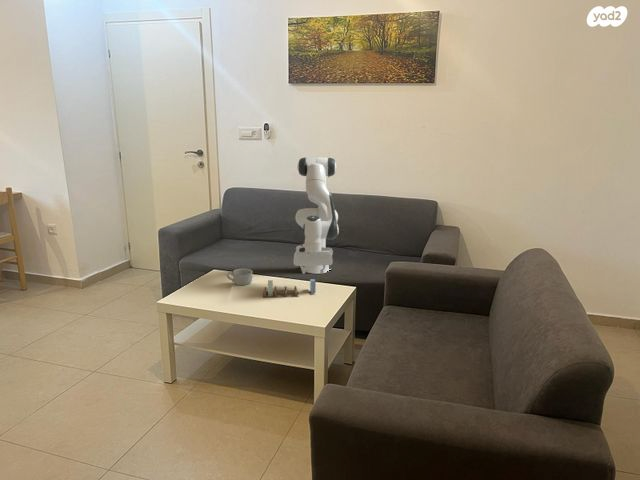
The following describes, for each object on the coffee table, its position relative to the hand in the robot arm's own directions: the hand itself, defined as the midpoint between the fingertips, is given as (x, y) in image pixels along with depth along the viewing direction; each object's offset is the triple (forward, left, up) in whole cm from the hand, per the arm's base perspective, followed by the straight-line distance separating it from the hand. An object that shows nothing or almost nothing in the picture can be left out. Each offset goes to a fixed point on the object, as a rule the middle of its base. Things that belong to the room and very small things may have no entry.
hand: (312, 273), depth 244 cm
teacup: (-17, -39, -11) cm, 44 cm away
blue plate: (0, 0, -11) cm, 11 cm away
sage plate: (+4, -22, -10) cm, 24 cm away
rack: (+4, -17, -11) cm, 20 cm away
